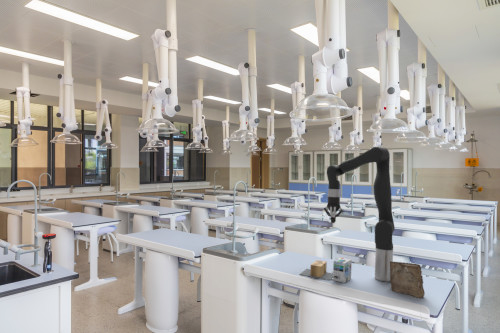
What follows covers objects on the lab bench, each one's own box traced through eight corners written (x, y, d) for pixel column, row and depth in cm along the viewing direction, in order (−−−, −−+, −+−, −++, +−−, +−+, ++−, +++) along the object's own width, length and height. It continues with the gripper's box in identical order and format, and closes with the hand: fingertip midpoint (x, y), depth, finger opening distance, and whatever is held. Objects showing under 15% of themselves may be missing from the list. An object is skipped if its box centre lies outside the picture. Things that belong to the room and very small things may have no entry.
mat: (336, 274, 191) (336, 273, 191) (330, 280, 179) (330, 280, 179) (306, 269, 199) (306, 268, 199) (299, 274, 187) (299, 274, 187)
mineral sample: (425, 297, 159) (425, 265, 159) (422, 299, 156) (423, 267, 156) (389, 288, 170) (390, 258, 171) (386, 290, 167) (387, 260, 168)
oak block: (326, 261, 194) (321, 266, 183) (326, 271, 194) (320, 277, 183) (316, 260, 197) (310, 264, 186) (316, 270, 197) (310, 275, 186)
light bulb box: (344, 283, 175) (345, 263, 176) (332, 280, 179) (333, 260, 180) (351, 278, 184) (352, 259, 184) (340, 276, 188) (340, 257, 188)
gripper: (322, 195, 211) (321, 222, 211) (343, 197, 205) (342, 224, 204) (325, 195, 217) (324, 221, 217) (345, 196, 211) (344, 223, 211)
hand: (333, 222), depth 211 cm, fingers closed
